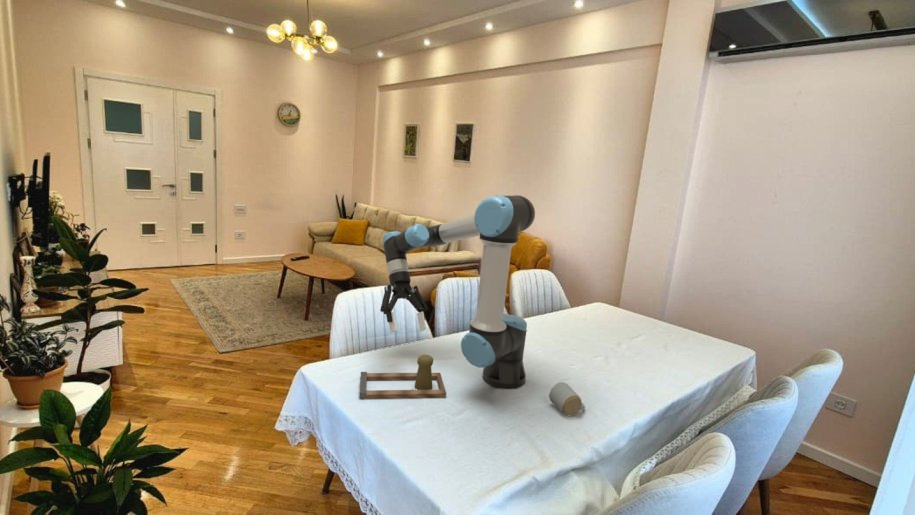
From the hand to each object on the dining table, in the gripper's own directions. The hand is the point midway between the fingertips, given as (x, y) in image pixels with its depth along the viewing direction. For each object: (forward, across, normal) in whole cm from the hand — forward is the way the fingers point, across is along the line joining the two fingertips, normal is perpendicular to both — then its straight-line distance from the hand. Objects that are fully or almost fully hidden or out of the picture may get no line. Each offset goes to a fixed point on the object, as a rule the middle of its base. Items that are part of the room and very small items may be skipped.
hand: (409, 330), depth 159 cm
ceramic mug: (+36, -26, +38) cm, 58 cm away
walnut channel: (+19, +6, 0) cm, 20 cm away
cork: (+20, +1, +4) cm, 20 cm away
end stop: (+16, +17, -7) cm, 25 cm away
